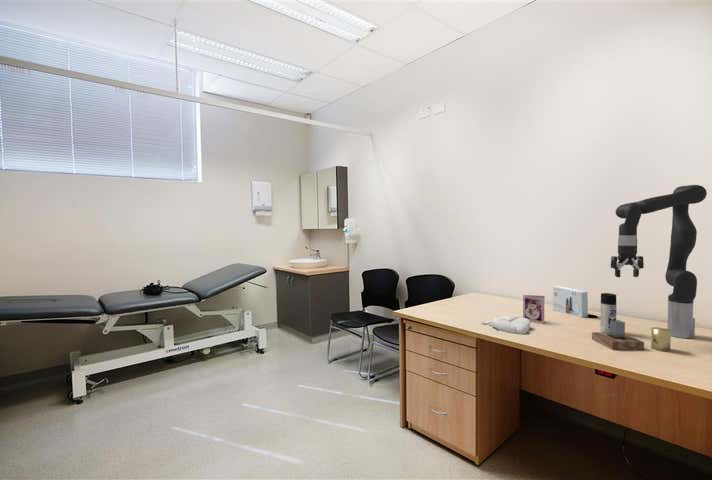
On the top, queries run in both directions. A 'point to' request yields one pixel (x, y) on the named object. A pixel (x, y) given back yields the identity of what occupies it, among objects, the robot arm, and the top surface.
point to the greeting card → (533, 308)
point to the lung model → (510, 324)
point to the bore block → (618, 341)
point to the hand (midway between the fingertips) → (626, 277)
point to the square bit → (617, 329)
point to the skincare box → (570, 301)
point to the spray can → (607, 310)
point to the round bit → (661, 339)
